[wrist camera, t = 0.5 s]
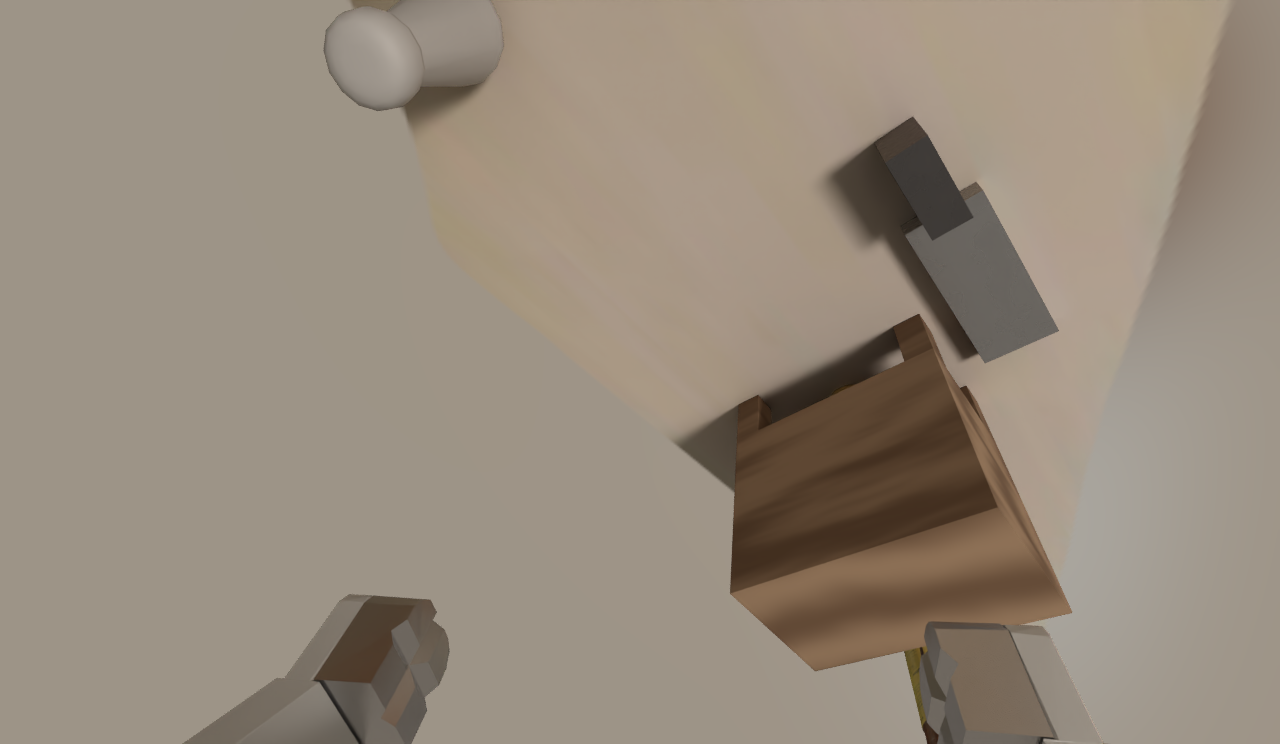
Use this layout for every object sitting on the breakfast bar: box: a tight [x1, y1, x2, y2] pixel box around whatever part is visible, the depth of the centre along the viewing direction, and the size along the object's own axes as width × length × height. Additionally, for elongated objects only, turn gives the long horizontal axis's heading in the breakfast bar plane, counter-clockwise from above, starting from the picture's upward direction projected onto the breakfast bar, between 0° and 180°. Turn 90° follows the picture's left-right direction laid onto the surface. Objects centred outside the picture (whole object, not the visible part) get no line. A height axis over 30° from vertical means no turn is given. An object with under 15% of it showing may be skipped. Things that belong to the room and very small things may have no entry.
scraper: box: [874, 117, 1059, 363], centre depth 39 cm, size 18×5×4 cm, turn 40°
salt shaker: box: [324, 0, 504, 111], centre depth 32 cm, size 6×6×13 cm
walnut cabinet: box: [730, 314, 1072, 671], centre depth 43 cm, size 11×16×18 cm
